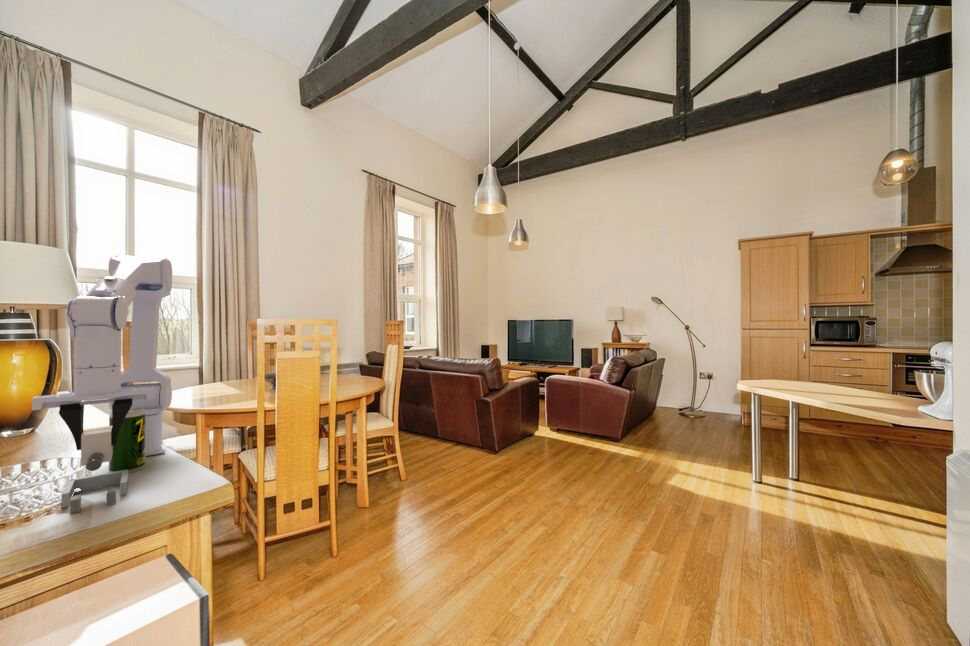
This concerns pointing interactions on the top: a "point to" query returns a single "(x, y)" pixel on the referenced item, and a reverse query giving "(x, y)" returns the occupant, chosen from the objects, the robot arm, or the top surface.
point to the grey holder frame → (94, 483)
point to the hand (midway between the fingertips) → (97, 446)
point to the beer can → (130, 442)
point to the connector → (96, 447)
